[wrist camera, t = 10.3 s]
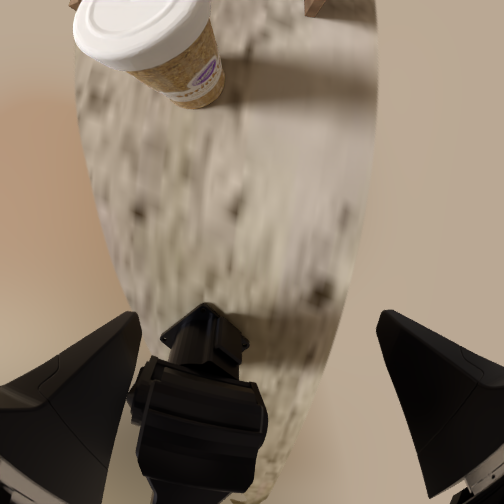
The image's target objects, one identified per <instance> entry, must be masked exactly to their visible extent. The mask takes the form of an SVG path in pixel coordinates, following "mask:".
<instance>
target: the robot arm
mask: <svg viewBox="0 0 504 504" xmlns="http://www.w3.org/2000/svg"><path fill="white" fill-rule="evenodd" d="M202 308H204V309H206V310H202ZM376 334H377V337H378V340H379V344H380V347H381V351H382V354H383V358H384V361H385V364H386V367H387V370H388V372H389V375H390V377H391V380H392V382H393V385H394V388H395V390H396V393H397V396H398V398H399V401H400V404H401V407H402V410H403V412H404V415H405V418H406V421H407V424H408V427H409V430H410V433H411V436H412V439H413V442H414V446H415V449H416V452H417V456H418V460H419V463H420V467H421V470H422V474H423V478H424V482H425V485H426V489H427V494H428V497H429V499H431V498H433V497H435V496H437V495H439V494H440V493H442V492H444V491H446V490H448V489H449V488H451V487H453V486H455V485H456V484H458V483H460V482H461V481H462V480H465V482H466V485H467V487H466V488H465V489H463V490H462V491H460V492H459V493H457V494H455V495H454V496H453V497H452V500H451V502H450V504H504V367H503V366H501V365H499V364H496V363H494V362H492V361H490V360H488V359H485V358H483V357H481V356H479V355H477V354H475V353H473V352H471V351H469V350H467V349H466V348H464V347H462V346H459V345H458V344H456V343H454V342H452V341H451V340H449V339H447V338H445V337H443V336H441V335H439V334H438V333H436V332H434V331H432V330H430V329H428V328H426V327H424V326H423V325H421V324H419V323H417V322H415V321H413V320H411V319H409V318H407V317H405V316H404V315H402V314H400V313H398V312H396V311H394V310H384V311H382V312H381V315H380V318H379V321H378V324H377V327H376ZM141 337H142V329H141V325H140V321H139V317H138V314H137V313H136V312H131V311H126V312H124V313H123V314H121V315H120V316H118V317H116V318H115V319H113V320H111V321H110V322H108V323H107V324H105V325H103V326H102V327H100V328H99V329H97V330H96V331H94V332H92V333H91V334H89V335H88V336H86V337H84V338H83V339H82V340H80V341H78V342H77V343H75V344H74V345H72V346H70V347H69V348H67V349H66V350H64V351H63V352H61V353H60V354H59V355H56V356H55V357H53V358H52V359H50V360H49V361H47V362H45V363H44V364H42V365H40V366H39V367H37V368H35V369H33V370H31V371H30V372H28V373H26V374H24V375H23V376H20V377H18V378H17V379H15V380H13V381H11V382H9V383H7V384H5V385H2V386H0V504H101V503H102V498H103V492H104V487H105V482H106V477H107V472H108V467H109V462H110V458H111V454H112V450H113V446H114V441H115V437H116V433H117V429H118V426H119V422H120V419H121V415H122V411H123V408H124V404H125V401H127V403H128V404H129V406H130V407H131V414H132V419H131V424H134V425H136V426H140V432H139V437H138V442H137V447H136V456H137V458H138V463H139V467H140V469H141V472H142V474H143V476H145V477H146V478H147V480H148V482H149V484H150V486H151V488H152V490H153V492H152V497H151V503H150V504H220V503H221V502H222V501H223V500H224V499H226V497H228V496H229V495H230V494H231V493H245V492H246V491H247V489H248V488H249V487H250V485H251V484H252V483H253V480H254V472H255V464H256V458H257V453H258V449H260V447H261V446H262V444H263V442H264V440H265V437H266V433H267V428H268V413H267V410H266V407H265V405H264V402H263V399H262V397H261V394H260V392H259V389H258V386H257V384H256V383H255V382H244V381H239V365H240V364H241V363H242V352H243V351H244V350H246V349H247V348H249V346H250V344H249V341H248V340H247V339H246V338H245V337H244V336H243V335H241V332H240V331H239V330H238V329H237V328H235V327H234V326H233V325H232V324H231V323H230V322H228V321H227V320H226V319H225V318H224V317H221V316H219V315H218V314H217V313H216V312H215V311H214V310H213V309H212V308H210V307H209V306H208V305H207V304H204V303H203V304H200V305H198V306H197V307H196V308H195V309H193V310H192V311H191V312H190V313H188V314H187V315H186V316H184V317H183V318H182V319H181V320H179V321H178V322H177V323H175V324H174V325H173V326H171V327H170V328H169V329H168V330H166V331H165V332H164V333H162V334H161V337H160V340H161V341H162V342H163V343H164V344H165V345H166V346H168V347H169V348H170V349H171V352H170V355H169V359H168V362H167V361H164V360H161V359H158V357H156V356H153V355H152V356H151V358H150V361H149V362H146V364H145V366H144V367H141V369H140V371H139V374H138V377H137V380H136V382H135V384H134V385H133V386H132V388H131V389H130V391H129V387H130V384H131V381H132V378H133V375H134V371H135V366H136V362H137V356H138V351H139V346H140V341H141ZM165 338H167V339H165ZM243 344H245V345H243ZM128 391H129V392H128ZM126 397H127V398H126Z"/></svg>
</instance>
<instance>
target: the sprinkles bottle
mask: <svg viewBox="0 0 504 504" xmlns="http://www.w3.org/2000/svg"><path fill="white" fill-rule="evenodd" d="M210 12H211V1H210V0H82V2H81V3H80V5H79V7H78V9H77V12H76V14H75V18H74V23H73V34H74V39H75V42H76V44H77V46H78V47H79V48H80V49H81V51H82V52H84V53H85V54H86V55H88V56H90V57H91V58H93V59H95V60H96V61H98V62H100V63H102V64H104V65H105V66H107V67H110V68H112V69H115V70H120V71H126V72H127V73H129V74H131V75H132V76H133V77H134V78H135V79H137V80H138V81H140V82H142V83H144V84H145V85H147V86H149V87H150V88H152V89H154V90H155V91H157V92H159V93H161V94H163V95H165V96H166V97H168V98H169V99H170V100H171V101H172V102H173V103H174V104H176V105H177V106H179V107H182V108H186V109H197V108H201V107H204V106H206V105H208V104H210V103H211V102H213V101H214V100H216V99H217V97H218V96H219V95H220V94H221V92H222V90H223V87H224V83H225V74H224V71H223V69H222V64H221V59H220V54H219V49H218V45H217V43H216V40H215V36H214V33H213V29H212V26H211V22H210V19H209V17H210Z"/></svg>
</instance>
